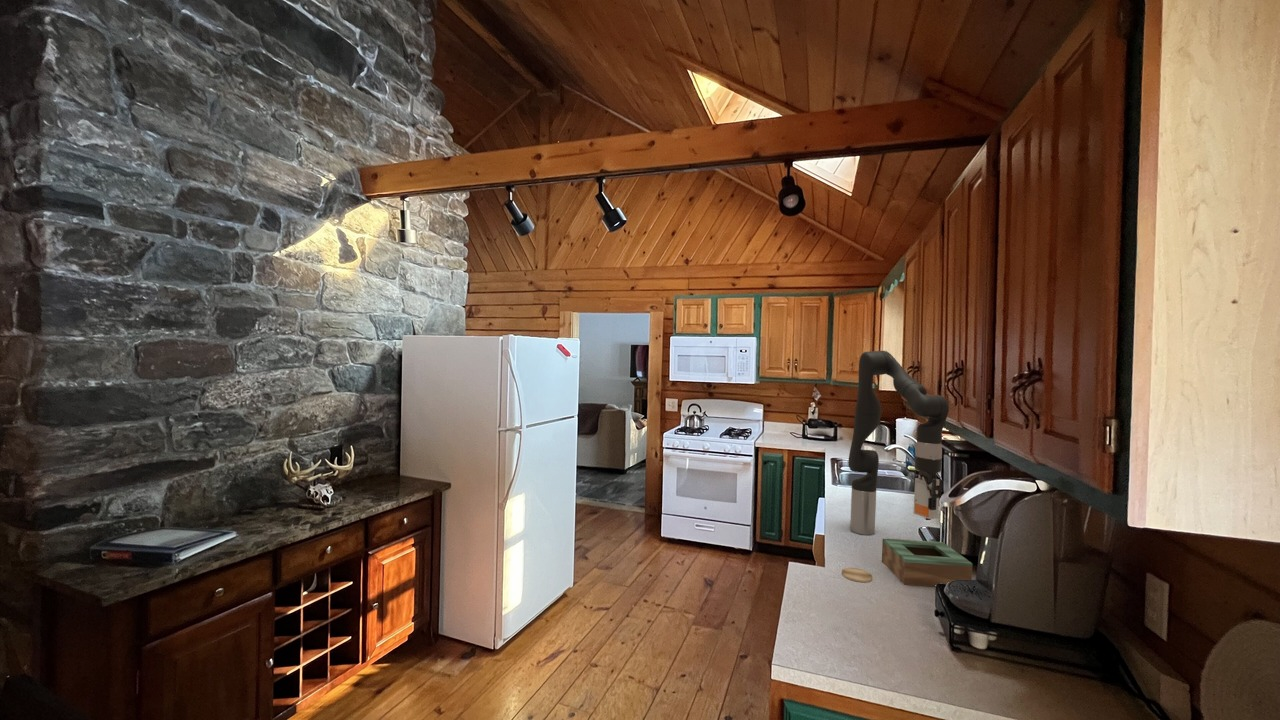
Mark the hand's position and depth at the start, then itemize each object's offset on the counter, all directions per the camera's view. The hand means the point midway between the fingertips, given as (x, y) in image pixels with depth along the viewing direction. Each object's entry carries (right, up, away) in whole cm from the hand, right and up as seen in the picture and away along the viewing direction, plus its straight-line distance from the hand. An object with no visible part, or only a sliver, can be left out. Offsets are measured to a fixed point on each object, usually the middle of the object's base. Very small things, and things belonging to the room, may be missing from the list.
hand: (926, 505), depth 167 cm
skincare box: (0, -4, 0) cm, 4 cm away
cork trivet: (-24, -22, -3) cm, 33 cm away
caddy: (-1, -23, 0) cm, 23 cm away
